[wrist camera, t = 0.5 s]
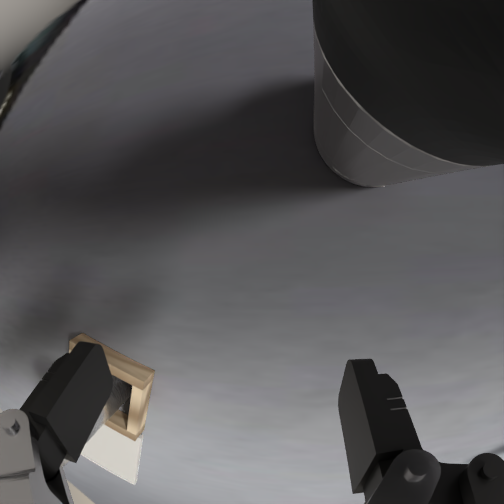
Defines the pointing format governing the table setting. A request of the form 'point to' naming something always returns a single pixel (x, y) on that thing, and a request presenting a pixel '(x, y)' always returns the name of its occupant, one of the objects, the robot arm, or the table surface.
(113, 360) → the birch sleeve
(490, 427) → the table surface
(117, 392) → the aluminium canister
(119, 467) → the off-white plate
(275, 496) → the table surface
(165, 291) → the table surface
